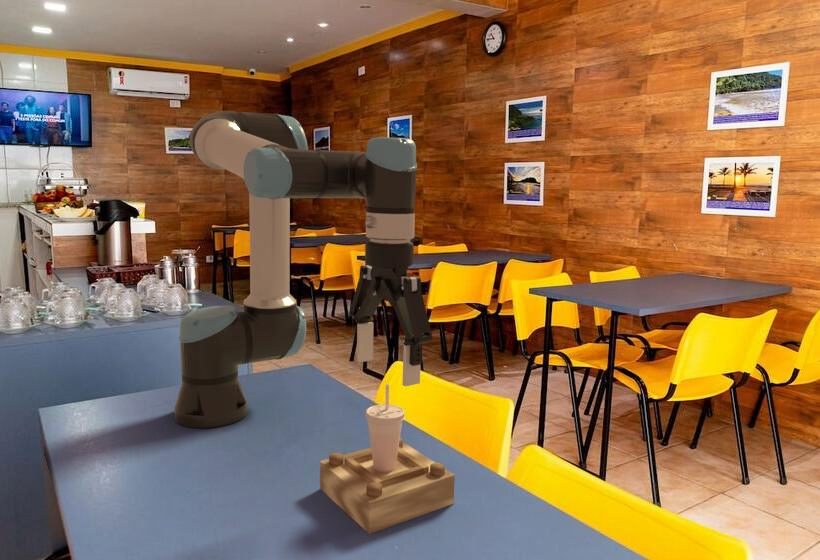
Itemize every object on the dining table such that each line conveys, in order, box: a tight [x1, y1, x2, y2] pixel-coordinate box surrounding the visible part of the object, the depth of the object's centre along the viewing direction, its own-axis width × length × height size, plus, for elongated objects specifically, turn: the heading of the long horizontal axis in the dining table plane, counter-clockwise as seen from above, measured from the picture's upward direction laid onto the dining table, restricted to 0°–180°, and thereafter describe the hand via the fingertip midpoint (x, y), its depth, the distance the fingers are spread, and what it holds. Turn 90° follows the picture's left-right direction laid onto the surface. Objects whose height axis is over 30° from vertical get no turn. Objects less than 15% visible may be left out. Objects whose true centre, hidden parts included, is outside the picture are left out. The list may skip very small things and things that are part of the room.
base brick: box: [319, 437, 456, 535], centre depth 103 cm, size 16×16×6 cm
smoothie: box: [365, 383, 406, 472], centre depth 102 cm, size 6×6×14 cm
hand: (386, 372), depth 100 cm, fingers open, 13 cm apart
